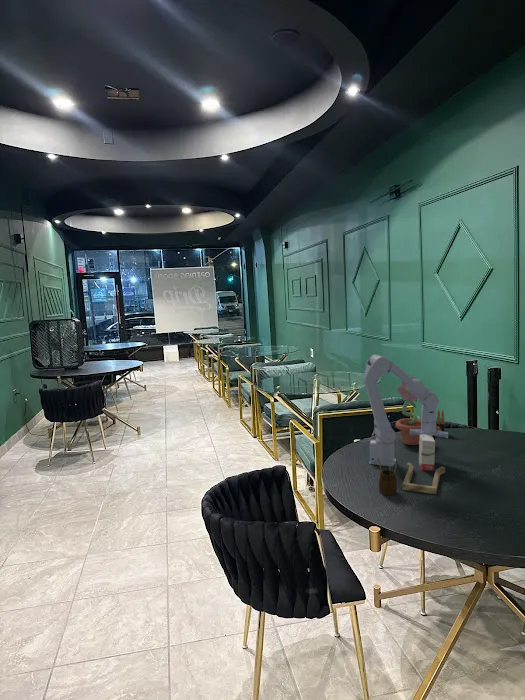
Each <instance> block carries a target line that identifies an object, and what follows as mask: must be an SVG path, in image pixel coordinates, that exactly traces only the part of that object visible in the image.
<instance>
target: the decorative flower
mask: <svg viewBox="0 0 525 700" xmlns="http://www.w3.org/2000/svg"><path fill="white" fill-rule="evenodd" d="M410 378H411V379H417V378H416V377H412V376H411V377H410ZM396 390H397V393H398V394H399V395H401V398H402V399H403V400H405V401H404V403H403V405H402V407H401V408H400V407H398V408H396V409H394V410H393V413H398V412H401V414H403V415H404V416H406V417H411V418H400V419H399V420H397V421H396V422H395V425H394V426H395V428H396V429H398V430H399V431H400V437H401V438H400V440H401V443H402V444H404V445H407V446H419V437H420V435H410V429H421V419H418V417H417V415H418V413H419V410H417V411H415V412H414V413H413V412H408V411H406V410H407V408H408V406H409V404H410V405H411V406H412V407H413V408H417V406H416V403H415V402H416V401H417V400H418V399H417V398H416V397H415V396H414V395H413V394H412V393H411V392H409V391H408V390H407V388H406V384H405V383H404V382H403V381H401V384H400V386H397V388H396Z"/></svg>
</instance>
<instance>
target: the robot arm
mask: <svg viewBox="0 0 525 700" xmlns="http://www.w3.org/2000/svg"><path fill="white" fill-rule="evenodd" d="M365 364H366V365H365V369H364V374H363V383H364V386H365V391H366V394H367V396H368V397H367V398H368V402H369V404H370V407H371V411H372V415H373V418H374V419H373V423H374V424H373V425H374V426H373V432H374V435H376V437H375V439H371V440H370V443H369V462H368V463H369V465H376V466H379V462H378V457H379V460H380V464H381V466H383V467H384V466H385V467H389V466H391V467H392V468H394V466H395V465H396V462H397V459H396V458H395V440H396V438H397V437H396V436H397V435H396V434H397V433H396V431H395V430H394V429H393V428H392V425H391V422H390V421H389V419H388V416H387V413H386V408H385V405H384V402H383V398H382V393H381V391H380V387H379V383H378V381H379V380H380V378H381V377H382V376H383V375H385V374H386V373H388V374H392V375H394V376H395V377H396V378H398V379H399V380H400V381H401V382H402V381H403V382H404V383H405V384H406V388H407V390H408V391H409V392H411V393H412V394H413V395H414V396H415V397H416V398H417V400H418V401H419V402H420V403H421V405H420V406H421V407H420V408H421V409H420V412H421V413H420V414H421V416H420V417H421V419H420V420H421V429H410V435H421V434H425V435H432V437H433V439H434V441H435V442H436V438H445V439H448V438H449V432H447V431H445V432H442V431H437V430H436V423H437V406H438V405H439V403H440V399H439V398H438V395H437V394H436V393H434V392H432V391H431V390H432V389H431V388H429V387H427V386H426V385H425V384H423V381H422V380H421V379H418V378H416V379H411V378H412V377H411V376H409V375H408V374H407V373H406V371H404V370H403V369H402V368H401V367H400V366H398V365H397V364H396V363H395V362H393V361H391V360H390V359H389V358H388V357H386V356H382V354H377V353H375V354H373V355H371V356H370V357H369V358H368V360H367V361H366V363H365ZM394 462H395V463H394ZM393 464H394V465H393ZM391 467H390V468H391Z"/></svg>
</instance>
